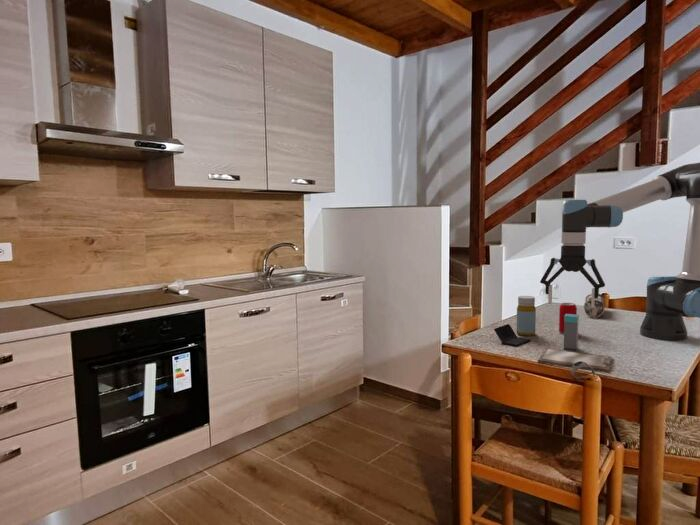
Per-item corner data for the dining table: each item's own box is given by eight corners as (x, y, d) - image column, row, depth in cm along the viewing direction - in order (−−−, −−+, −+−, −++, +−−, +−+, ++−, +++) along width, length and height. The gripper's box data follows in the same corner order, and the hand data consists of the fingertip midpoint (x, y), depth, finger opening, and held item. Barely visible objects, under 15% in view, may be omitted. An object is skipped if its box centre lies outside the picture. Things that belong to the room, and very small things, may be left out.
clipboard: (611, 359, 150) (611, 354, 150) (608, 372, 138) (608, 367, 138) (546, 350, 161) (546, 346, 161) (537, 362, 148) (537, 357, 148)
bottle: (535, 332, 186) (536, 296, 184) (534, 337, 180) (535, 299, 178) (517, 331, 189) (517, 295, 187) (515, 335, 182) (516, 298, 181)
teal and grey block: (577, 348, 163) (578, 314, 162) (576, 351, 160) (577, 317, 159) (565, 346, 166) (565, 313, 164) (563, 349, 162) (564, 315, 161)
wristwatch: (569, 376, 135) (569, 359, 135) (591, 376, 134) (591, 360, 134) (574, 380, 132) (574, 363, 131) (596, 380, 131) (597, 363, 131)
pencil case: (604, 319, 208) (605, 298, 207) (583, 317, 212) (583, 296, 211) (604, 310, 227) (605, 291, 226) (585, 309, 231) (585, 290, 230)
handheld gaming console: (522, 343, 165) (507, 319, 169) (506, 353, 169) (491, 329, 173) (532, 341, 174) (517, 318, 178) (516, 350, 178) (502, 327, 182)
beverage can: (578, 335, 181) (578, 305, 179) (561, 335, 182) (561, 305, 181) (573, 331, 187) (574, 302, 186) (557, 331, 188) (557, 302, 187)
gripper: (615, 245, 156) (612, 307, 158) (537, 243, 169) (535, 300, 171) (614, 246, 150) (611, 310, 151) (532, 244, 163) (531, 303, 165)
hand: (570, 305), depth 161 cm, fingers open, 13 cm apart
